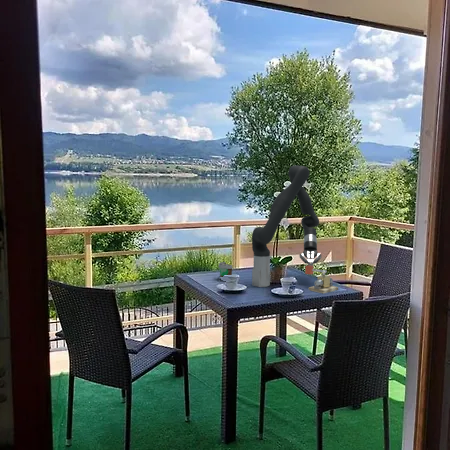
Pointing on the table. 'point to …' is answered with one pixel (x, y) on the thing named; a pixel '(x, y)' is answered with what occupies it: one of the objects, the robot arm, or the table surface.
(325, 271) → the valve lever
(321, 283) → the valve body
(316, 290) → the mounting board
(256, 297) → the table surface
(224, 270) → the food container
